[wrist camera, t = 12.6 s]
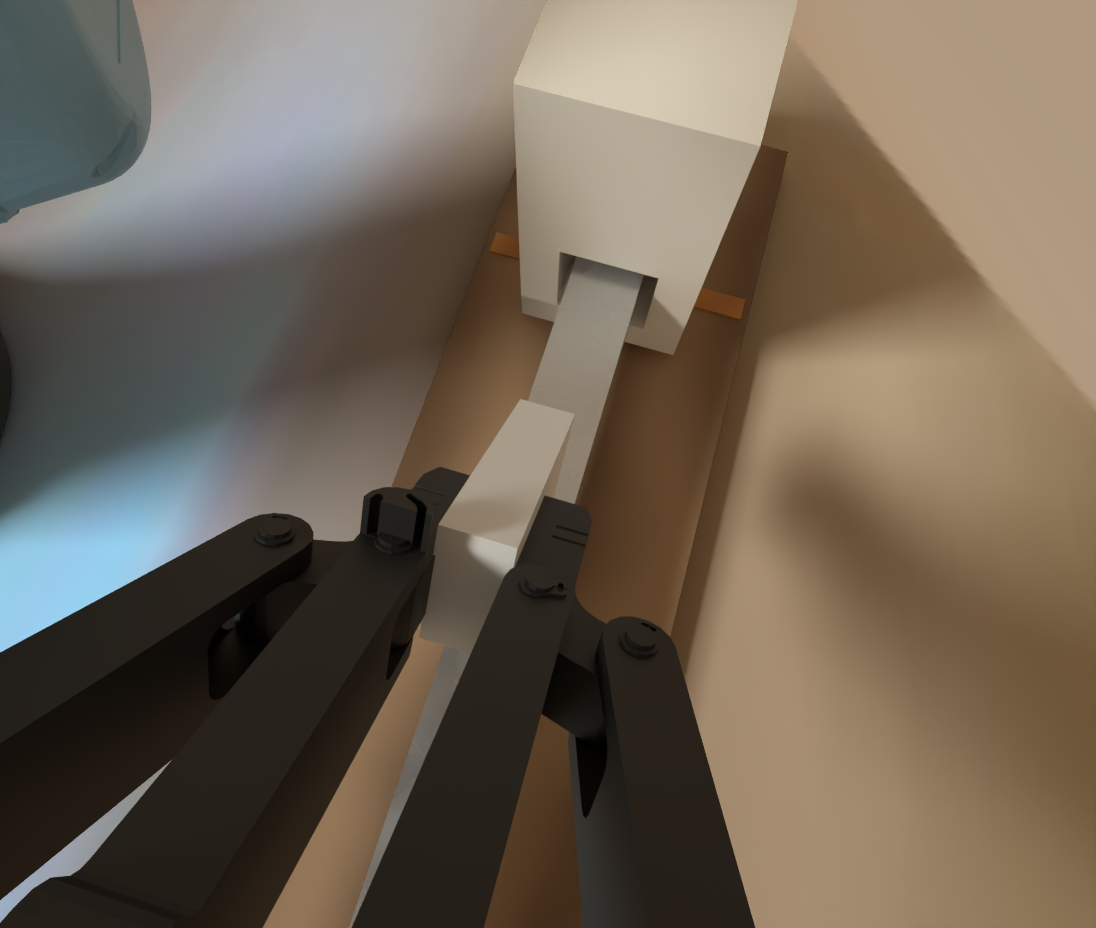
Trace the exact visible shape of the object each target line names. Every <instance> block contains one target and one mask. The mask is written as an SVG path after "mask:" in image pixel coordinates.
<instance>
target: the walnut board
mask: <svg viewBox="0 0 1096 928" xmlns="http://www.w3.org/2000/svg"><path fill="white" fill-rule="evenodd" d="M787 153H788V152H786V151H782V150H778V149H774V148H770V147H766V146H762V145H761V146H760V149H759V151H758V153H757V156H756V158H755V161H754V163H753V165H752V168H751V170H750V172H749V175H748V177H747V180H746V182H745V184H744V187H743V189H742V192H741V194H740V196H739V199H738V201H737V204H736V206H735V208H734V211H733V213H732V216H731V218H730V220H729V223H728V225H727V228H726V230H725V232H724V235H723V237H722V240H721V242H720V244H719V247H718V249H717V252H716V254H715V256H714V259H713V261H712V264H711V266H710V268H709V271H708V273H707V276H706V278H705V280H704V283H703V285H702V288H701V290H700V292H699V295H698V297H697V300H696V302H695V304H694V307H693V309H692V312H691V314H690V316H689V319H688V321H687V324H686V326H685V328H684V331H683V333H682V336H681V338H680V340H679V343H678V345H677V348H676V350H675V352H674V355H670V354H667V353H663V352H659V351H656V350H652V349H649V348H645V347H642V346H638V345H634V344H631V343H627V342H625V343H624V346H623V350H622V353H621V356H620V360H619V363H618V366H617V369H616V373H615V376H614V379H613V383H612V386H611V389H610V393H609V396H608V399H607V403H606V406H605V409H604V413H603V416H602V419H601V423H600V426H599V429H598V433H597V436H596V439H595V443H594V446H593V449H592V453H591V456H590V459H589V463H588V466H587V469H586V473H585V476H584V479H583V482H582V486H581V489H580V492H579V496H578V499H577V502H576V505H580V506H583V507H586V508H587V510H588V512H589V515H590V517H591V520H592V524H591V528H590V532H589V535H588V539H587V543H586V547H585V550H584V554H583V558H582V562H581V566H580V569H579V573H578V577H577V581H576V584H575V593H576V597H577V599H578V601H579V602H580V604H581V605H582V607H583V608H584V609H585V610H586V611H588V612H589V613H590V614H591V615H593V616H594V617H596V618H597V619H599V620H601V621H602V622H604V623H606V624H607V623H608V622H609V621H610V620H612V619H615V618H618V617H620V616H632V617H637V618H641V619H644V620H648V621H649V622H651V623H653V624H655V625H657V626H659V627H660V628H661V629H662V630H663V631H664V632H665V633H666V634H668V635H669V636H671V632H672V628H673V623H674V619H675V615H676V611H677V607H678V603H679V599H680V595H681V590H682V586H683V582H684V578H685V574H686V570H687V566H688V562H689V557H690V553H691V549H692V545H693V541H694V537H695V533H696V529H697V524H698V520H699V516H700V512H701V508H702V504H703V500H704V496H705V491H706V487H707V483H708V479H709V475H710V471H711V467H712V463H713V458H714V454H715V450H716V446H717V442H718V438H719V434H720V430H721V425H722V421H723V417H724V413H725V409H726V405H727V401H728V397H729V392H730V388H731V384H732V380H733V376H734V372H735V368H736V364H737V359H738V355H739V351H740V347H741V343H742V339H743V335H744V331H745V326H746V322H747V318H748V314H749V310H750V306H751V302H752V298H753V293H754V289H755V285H756V281H757V277H758V273H759V269H760V265H761V260H762V256H763V252H764V248H765V244H766V240H767V236H768V232H769V227H770V223H771V219H772V215H773V211H774V207H775V203H776V199H777V194H778V190H779V186H780V182H781V178H782V174H783V170H784V166H785V161H786V157H787ZM553 325H554V322H552V321H548V320H545V319H541V318H538V317H534V316H530V315H527V314H523V313H522V304H521V278H520V253H519V227H518V201H517V175H516V168H515V171H514V173H513V176H512V179H511V181H510V184H509V186H508V189H507V191H506V194H505V197H504V199H503V202H502V204H501V207H500V209H499V212H498V215H497V217H496V220H495V222H494V225H493V227H492V230H491V232H490V235H489V238H488V240H487V243H486V245H485V248H484V250H483V253H482V256H481V258H480V261H479V263H478V266H477V268H476V271H475V274H474V276H473V279H472V281H471V284H470V286H469V289H468V292H467V294H466V297H465V299H464V302H463V304H462V307H461V310H460V312H459V315H458V317H457V320H456V322H455V325H454V328H453V330H452V333H451V335H450V338H449V340H448V343H447V345H446V348H445V351H444V353H443V356H442V358H441V361H440V363H439V366H438V369H437V371H436V374H435V376H434V379H433V381H432V384H431V387H430V389H429V392H428V394H427V397H426V399H425V402H424V405H423V407H422V410H421V412H420V415H419V417H418V420H417V423H416V425H415V428H414V430H413V433H412V435H411V438H410V441H409V443H408V446H407V448H406V451H405V453H404V456H403V458H402V461H401V464H400V466H399V469H398V471H397V474H396V476H395V479H394V482H393V484H392V487H399V488H405V489H410V490H411V489H412V488H413V487H414V486H415V484H416V483H417V481H418V480H419V479H420V478H421V476H422V475H423V474H424V473H427V472H429V471H431V470H433V469H435V468H438V467H443V468H446V469H450V470H453V471H457V472H460V473H464V474H467V475H471V474H472V472H473V471H474V469H475V468H476V466H477V465H478V463H479V462H480V460H481V458H482V457H483V455H484V454H485V452H486V451H487V449H488V448H489V446H490V445H491V443H492V442H493V440H494V439H495V437H496V436H497V434H498V433H499V431H500V429H501V428H502V426H503V425H504V423H505V422H506V420H507V419H508V417H509V416H510V414H511V413H512V411H513V410H514V408H515V407H516V405H517V403H518V402H519V400H520V399H522V400H526V401H528V398H529V395H530V392H531V389H532V387H533V384H534V381H535V378H536V375H537V372H538V369H539V366H540V363H541V360H542V357H543V354H544V351H545V348H546V345H547V342H548V339H549V336H550V334H551V331H552V328H553ZM421 624H422V621H421V623H420V624H419V626H418V628H417V630H416V632H415V633H414V636H413V642H412V648H411V652H410V656H409V658H408V660H407V662H406V663H405V665H404V667H403V669H402V671H401V673H400V675H399V676H398V678H397V680H396V682H395V684H394V686H393V688H392V689H391V691H390V693H389V695H388V697H387V699H386V700H385V702H384V704H383V706H382V708H381V710H380V712H379V713H378V715H377V717H376V719H375V721H374V723H373V725H372V726H371V728H370V730H369V732H368V734H367V736H366V737H365V739H364V741H363V743H362V745H361V747H360V749H359V750H358V752H357V754H356V756H355V758H354V760H353V762H352V763H351V765H350V767H349V769H348V771H347V773H346V774H345V776H344V778H343V780H342V782H341V784H340V786H339V787H338V789H337V791H336V793H335V795H334V797H333V799H332V800H331V802H330V804H329V806H328V808H327V810H326V811H325V813H324V815H323V817H322V819H321V821H320V823H319V824H318V826H317V828H316V830H315V832H314V834H313V836H312V837H311V839H310V841H309V843H308V845H307V847H306V848H305V850H304V852H303V854H302V856H301V858H300V860H299V861H298V863H297V865H296V867H295V869H294V871H293V873H292V874H291V876H290V878H289V880H288V882H287V884H286V885H285V887H284V889H283V891H282V893H281V895H280V897H279V898H278V900H277V902H276V904H275V906H274V908H273V909H272V911H271V913H270V915H269V917H268V919H267V921H266V922H265V924H264V926H263V928H349V926H350V923H351V920H352V917H353V914H354V911H355V908H356V905H357V902H358V899H359V896H360V893H361V890H362V887H363V884H364V881H365V878H366V876H367V873H368V870H369V867H370V864H371V861H372V858H373V855H374V852H375V849H376V846H377V843H378V840H379V837H380V834H381V831H382V828H383V825H384V823H385V820H386V817H387V814H388V811H389V808H390V805H391V802H392V799H393V796H394V793H395V790H396V787H397V784H398V781H399V778H400V775H401V772H402V769H403V767H404V764H405V761H406V758H407V755H408V752H409V749H410V746H411V743H412V740H413V737H414V734H415V731H416V728H417V725H418V722H419V719H420V716H421V714H422V711H423V708H424V705H425V702H426V699H427V696H428V693H429V690H430V687H431V684H432V681H433V678H434V675H435V672H436V669H437V666H438V663H439V660H440V658H441V655H442V652H443V649H444V646H445V645H441V644H438V643H435V642H432V641H428V640H425V639H422V638H419V636H420V630H421ZM568 737H569V732H568V731H567V730H565V729H564V728H562V727H561V726H559V725H558V724H556V723H555V722H553V721H551V720H550V719H548V718H547V717H545V716H544V715H542V714H541V717H540V721H539V724H538V728H537V732H536V736H535V739H534V743H533V747H532V750H531V754H530V758H529V762H528V765H527V769H526V773H525V777H524V780H523V784H522V788H521V791H520V795H519V799H518V803H517V806H516V810H515V814H514V817H513V821H512V825H511V829H510V832H509V836H508V840H507V843H506V847H505V851H504V855H503V858H502V862H501V866H500V869H499V873H498V877H497V881H496V884H495V888H494V892H493V895H492V899H491V903H490V907H489V910H488V914H487V918H486V921H485V925H484V928H583V924H582V911H581V899H580V886H579V873H578V861H577V848H576V836H575V823H574V811H573V798H572V785H571V773H570V760H569V748H568Z"/></svg>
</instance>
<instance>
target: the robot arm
mask: <svg viewBox="0 0 1096 928" xmlns="http://www.w3.org/2000/svg"><path fill="white" fill-rule="evenodd" d="M150 123H151V91H150V82H149V74H148V68H147V62H146V57H145V52H144V47H143V42H142V37H141V33H140V29H139V25H138V21H137V16H136V12H135V9H134V5H133V1H132V0H0V224H2V223H6V222H8V220H9V219H11V218H12V217H13V216H15V215H16V214H18V212H19V210H20V209H22V208H26V207H29V206H32V205H36V204H39V203H42V202H46V201H49V200H52V199H56V198H59V197H62V196H66V195H69V194H72V193H76V192H79V191H82V190H86V189H89V188H92V187H96V186H99V185H102V184H105V183H107V182H110V181H112V180H114V179H116V178H118V177H120V176H121V175H122V174H124V173H125V172H126V171H127V170H128V169H130V168H131V166H132V165H133V164H134V163H135V162H136V160H137V159H138V157H139V156H140V154H141V153H142V151H143V149H144V146H145V144H146V141H147V138H148V134H149V130H150ZM10 391H11V373H10V364H9V358H8V354H7V349H6V346H5V343H4V340H3V338H2V335H1V333H0V437H1V434H2V432H3V428H4V425H5V421H6V418H7V413H8V408H9V401H10ZM574 416H575V414H572V413H569V412H565V411H562V410H558V409H554V408H551V407H547V406H544V405H540V404H537V403H533V402H529V401H526V400H522V399H520V400H519V402H518V403H517V405H516V407H515V408H514V410H513V411H512V413H511V414H510V416H509V417H508V419H507V420H506V422H505V423H504V425H503V426H502V428H501V429H500V431H499V433H498V434H497V436H496V437H495V439H494V440H493V442H492V443H491V445H490V446H489V448H488V449H487V451H486V452H485V454H484V455H483V457H482V458H481V460H480V462H479V463H478V465H477V466H476V468H475V469H474V471H473V472H472V474H471V475H467V474H464V473H460V472H457V471H453V470H450V469H446V468H443V467H438V468H435V469H433V470H431V471H429V472H427V473H424V474H423V475H422V476H421V478H420V479H419V480H418V481H417V483H416V484H415V486H414V487H413V488H412V489H411V490H410V489H405V488H399V487H386V488H380V489H377V490H373V491H371V492H370V493H368V494H367V495H365V496H364V500H363V510H362V519H361V529H360V534H359V535H358V536H357V537H356V539H355V540H354V541H348V542H335V541H323V540H313V531H312V529H311V526H310V525H309V524H308V523H306V522H305V521H304V520H302V519H301V518H298V517H295V516H292V515H289V514H278V513H271V514H263V515H258V516H255V517H253V518H250V519H247V520H245V521H244V522H242V523H240V524H238V525H236V526H234V527H232V528H231V529H229V530H227V531H225V532H223V533H221V534H219V535H218V536H216V537H214V538H212V539H210V540H208V541H206V542H205V543H203V544H201V545H199V546H197V547H195V548H193V549H192V550H190V551H188V552H186V553H184V554H182V555H180V556H179V557H177V558H175V559H173V560H171V561H169V562H167V563H166V564H164V565H162V566H160V567H158V568H156V569H154V570H153V571H151V572H149V573H147V574H145V575H143V576H141V577H140V578H138V579H136V580H134V581H132V582H130V583H128V584H127V585H125V586H123V587H121V588H119V589H117V590H115V591H114V592H112V593H110V594H108V595H106V596H104V597H102V598H101V599H99V600H97V601H95V602H93V603H91V604H89V605H88V606H86V607H84V608H82V609H80V610H78V611H77V612H75V613H73V614H71V615H69V616H67V617H65V618H64V619H62V620H60V621H58V622H56V623H54V624H52V625H51V626H49V627H47V628H45V629H43V630H41V631H39V632H38V633H36V634H34V635H32V636H30V637H28V638H26V639H25V640H23V641H21V642H19V643H17V644H15V645H13V646H12V647H10V648H8V649H6V650H4V651H2V652H0V900H1V899H2V898H3V897H5V896H6V895H7V894H8V893H10V892H11V891H12V890H13V889H14V888H16V887H17V886H18V885H19V884H21V883H22V882H23V881H24V880H25V879H27V878H28V877H29V876H30V875H32V874H33V873H34V872H35V871H36V870H38V869H39V868H40V867H41V866H43V865H44V864H45V863H46V862H47V861H49V860H50V859H51V858H52V857H54V856H55V855H56V854H57V853H58V852H60V851H61V850H62V849H63V848H64V847H66V846H67V845H68V844H69V843H71V842H72V841H73V840H74V839H75V838H77V837H78V836H79V835H80V834H82V833H83V832H84V831H85V830H86V829H88V828H89V827H90V826H91V825H93V824H94V823H95V822H96V821H97V820H99V819H100V818H101V817H102V816H104V815H105V814H106V813H107V812H108V811H110V810H111V809H112V808H113V807H115V806H116V805H117V804H118V803H119V802H121V801H122V800H123V799H124V798H126V797H127V796H128V795H129V794H130V793H132V792H133V791H134V790H135V789H137V788H138V787H139V786H140V785H141V784H143V783H144V782H145V781H146V780H148V779H149V778H150V777H151V776H152V775H154V774H155V773H156V772H157V771H158V770H160V769H161V768H162V767H163V766H165V765H166V764H167V763H168V762H169V761H171V760H172V761H171V762H170V763H169V764H168V765H167V767H166V768H165V769H164V770H163V772H162V773H161V774H160V775H159V776H158V778H157V779H156V780H155V781H154V782H153V784H152V785H151V786H150V787H149V788H148V790H147V791H146V792H145V793H144V794H143V796H142V797H141V798H140V799H139V800H138V802H137V803H136V804H135V805H134V807H133V808H132V809H131V810H130V811H129V813H128V814H127V815H126V816H125V817H124V819H123V820H122V821H121V822H120V823H119V825H118V826H117V827H116V828H115V829H114V831H113V832H112V833H111V834H110V835H109V837H108V838H107V839H106V840H105V842H104V843H103V844H102V845H101V846H100V848H99V849H98V850H97V851H96V852H95V854H94V855H93V856H92V857H91V858H90V860H89V861H88V862H87V863H86V864H85V865H84V866H83V867H82V868H81V869H80V870H78V871H77V872H75V873H74V874H72V875H71V876H64V877H54V878H49V879H48V880H46V881H45V882H43V883H41V884H40V885H38V886H37V887H35V888H34V889H32V890H31V891H30V892H29V893H28V894H27V895H26V896H25V897H24V898H23V899H22V900H21V901H20V902H19V903H18V904H17V905H16V906H15V907H14V908H13V909H12V910H11V911H10V912H9V914H8V915H7V916H6V917H5V918H4V919H3V920H2V922H1V923H0V928H263V926H264V924H265V922H266V921H267V919H268V917H269V915H270V913H271V911H272V909H273V908H274V906H275V904H276V902H277V900H278V898H279V897H280V895H281V893H282V891H283V889H284V887H285V885H286V884H287V882H288V880H289V878H290V876H291V874H292V873H293V871H294V869H295V867H296V865H297V863H298V861H299V860H300V858H301V856H302V854H303V852H304V850H305V848H306V847H307V845H308V843H309V841H310V839H311V837H312V836H313V834H314V832H315V830H316V828H317V826H318V824H319V823H320V821H321V819H322V817H323V815H324V813H325V811H326V810H327V808H328V806H329V804H330V802H331V800H332V799H333V797H334V795H335V793H336V791H337V789H338V787H339V786H340V784H341V782H342V780H343V778H344V776H345V774H346V773H347V771H348V769H349V767H350V765H351V763H352V762H353V760H354V758H355V756H356V754H357V752H358V750H359V749H360V747H361V745H362V743H363V741H364V739H365V737H366V736H367V734H368V732H369V730H370V728H371V726H372V725H373V723H374V721H375V719H376V717H377V715H378V713H379V712H380V710H381V708H382V706H383V704H384V702H385V700H386V699H387V697H388V695H389V693H390V691H391V689H392V688H393V686H394V684H395V682H396V680H397V678H398V676H399V675H400V673H401V671H402V669H403V667H404V665H405V663H406V662H407V660H408V658H409V656H410V652H411V648H412V642H413V636H414V633H415V632H416V630H417V628H418V626H419V624H420V623H421V621H422V624H421V630H420V636H419V638H422V639H425V640H428V641H432V642H435V643H438V644H441V645H445V646H448V647H451V648H454V649H457V650H461V651H464V652H467V653H470V657H469V659H468V661H467V663H466V666H465V668H464V670H463V673H462V675H461V677H460V680H459V682H458V684H457V686H456V689H455V691H454V693H453V696H452V698H451V700H450V702H449V705H448V707H447V709H446V712H445V714H444V716H443V719H442V721H441V723H440V725H439V728H438V730H437V732H436V735H435V737H434V739H433V742H432V744H431V746H430V748H429V751H428V753H427V755H426V758H425V760H424V762H423V765H422V767H421V769H420V771H419V774H418V776H417V778H416V781H415V783H414V785H413V788H412V790H411V792H410V794H409V797H408V799H407V801H406V804H405V806H404V808H403V810H402V813H401V815H400V817H399V820H398V822H397V824H396V827H395V829H394V831H393V833H392V836H391V838H390V840H389V843H388V845H387V847H386V850H385V852H384V854H383V856H382V859H381V861H380V863H379V866H378V868H377V870H376V873H375V875H374V877H373V879H372V882H371V884H370V886H369V889H368V891H367V893H366V896H365V898H364V900H363V902H362V905H361V907H360V909H359V912H358V914H357V916H356V918H355V921H354V923H353V925H352V928H484V925H485V921H486V918H487V914H488V910H489V907H490V903H491V899H492V895H493V892H494V888H495V884H496V881H497V877H498V873H499V869H500V866H501V862H502V858H503V855H504V851H505V847H506V843H507V840H508V836H509V832H510V829H511V825H512V821H513V817H514V814H515V810H516V806H517V803H518V799H519V795H520V791H521V788H522V784H523V780H524V777H525V773H526V769H527V765H528V762H529V758H530V754H531V750H532V747H533V743H534V739H535V736H536V732H537V728H538V724H539V721H540V717H541V714H542V715H544V716H545V717H547V718H548V719H550V720H551V721H553V722H555V723H556V724H558V725H559V726H561V727H562V728H564V729H565V730H567V731H568V732H569V737H568V748H569V760H570V773H571V785H572V798H573V811H574V823H575V836H576V848H577V861H578V873H579V886H580V899H581V911H582V924H583V928H755V926H754V922H753V919H752V915H751V912H750V908H749V905H748V901H747V897H746V894H745V890H744V887H743V883H742V880H741V876H740V873H739V869H738V866H737V862H736V859H735V855H734V852H733V848H732V845H731V841H730V838H729V834H728V831H727V827H726V824H725V820H724V817H723V813H722V810H721V806H720V802H719V799H718V795H717V792H716V788H715V785H714V781H713V778H712V774H711V771H710V767H709V764H708V760H707V757H706V753H705V750H704V746H703V743H702V739H701V736H700V732H699V729H698V725H697V722H696V718H695V715H694V711H693V707H692V704H691V700H690V697H689V693H688V690H687V686H686V683H685V679H684V676H683V672H682V669H681V665H680V662H679V658H678V655H677V651H676V648H675V646H674V644H673V642H672V640H671V638H670V636H669V635H668V634H666V633H665V632H664V631H663V630H662V629H661V628H660V627H659V626H657V625H655V624H653V623H651V622H649V621H648V620H644V619H641V618H637V617H632V616H620V617H618V618H615V619H612V620H610V621H609V622H608V623H607V624H606V623H604V622H602V621H601V620H599V619H597V618H596V617H594V616H593V615H591V614H590V613H589V612H588V611H586V610H585V609H584V608H583V607H582V605H581V604H580V602H579V601H578V599H577V597H576V593H575V584H576V581H577V577H578V573H579V569H580V566H581V562H582V558H583V554H584V550H585V547H586V543H587V539H588V535H589V532H590V528H591V524H592V520H591V517H590V515H589V512H588V510H587V508H586V507H583V506H580V505H576V504H573V503H569V502H566V501H562V500H559V499H555V498H554V494H555V490H556V486H557V482H558V478H559V475H560V471H561V467H562V463H563V459H564V455H565V451H566V447H567V443H568V440H569V436H570V432H571V428H572V424H573V420H574ZM234 616H235V617H234ZM231 618H232V619H231ZM228 620H229V621H228Z"/></svg>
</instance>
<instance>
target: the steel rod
mask: <svg viewBox="0 0 1096 928" xmlns="http://www.w3.org/2000/svg"><path fill="white" fill-rule="evenodd" d="M644 276H646V277H650V276H648V275H644V274H640V273H637V272H633V271H629V270H626V269H622V268H618V267H614V266H611V265H607V264H603V263H600V262H596V261H592V260H589V259H585V258H581V257H578V256H577V257H576V260H575V263H574V266H573V269H572V272H571V275H570V278H569V280H568V283H567V286H566V289H565V292H564V295H563V298H562V301H561V304H560V307H559V310H558V313H557V316H556V319H555V322H554V325H553V328H552V331H551V334H550V336H549V339H548V342H547V345H546V348H545V351H544V354H543V357H542V360H541V363H540V366H539V369H538V372H537V375H536V378H535V381H534V384H533V387H532V389H531V392H530V395H529V398H528V401H529V402H533V403H537V404H540V405H544V406H547V407H551V408H554V409H558V410H562V411H565V412H569V413H572V414H575V416H574V420H573V424H572V428H571V432H570V436H569V440H568V443H567V447H566V451H565V455H564V459H563V463H562V467H561V471H560V475H559V478H558V482H557V486H556V490H555V494H554V498H555V499H559V500H562V501H566V502H569V503H573V504H576V502H577V499H578V496H579V492H580V489H581V486H582V482H583V479H584V476H585V473H586V469H587V466H588V463H589V459H590V456H591V453H592V449H593V446H594V443H595V439H596V436H597V433H598V429H599V426H600V423H601V419H602V416H603V413H604V409H605V406H606V403H607V399H608V396H609V393H610V389H611V386H612V383H613V379H614V376H615V373H616V369H617V366H618V363H619V360H620V356H621V353H622V350H623V346H624V343H625V340H626V336H627V333H628V330H629V326H630V323H631V320H632V316H633V313H634V310H635V306H636V303H637V300H638V296H639V293H640V290H641V286H642V283H643V280H644ZM469 657H470V653H467V652H464V651H461V650H457V649H454V648H451V647H448V646H444V649H443V652H442V655H441V658H440V660H439V663H438V666H437V669H436V672H435V675H434V678H433V681H432V684H431V687H430V690H429V693H428V696H427V699H426V702H425V705H424V708H423V711H422V714H421V716H420V719H419V722H418V725H417V728H416V731H415V734H414V737H413V740H412V743H411V746H410V749H409V752H408V755H407V758H406V761H405V764H404V767H403V769H402V772H401V775H400V778H399V781H398V784H397V787H396V790H395V793H394V796H393V799H392V802H391V805H390V808H389V811H388V814H387V817H386V820H385V823H384V825H383V828H382V831H381V834H380V837H379V840H378V843H377V846H376V849H375V852H374V855H373V858H372V861H371V864H370V867H369V870H368V873H367V876H366V878H365V881H364V884H363V887H362V890H361V893H360V896H359V899H358V902H357V905H356V908H355V911H354V914H353V917H352V920H351V923H350V926H349V928H352V925H353V923H354V921H355V918H356V916H357V914H358V912H359V909H360V907H361V905H362V902H363V900H364V898H365V896H366V893H367V891H368V889H369V886H370V884H371V882H372V879H373V877H374V875H375V873H376V870H377V868H378V866H379V863H380V861H381V859H382V856H383V854H384V852H385V850H386V847H387V845H388V843H389V840H390V838H391V836H392V833H393V831H394V829H395V827H396V824H397V822H398V820H399V817H400V815H401V813H402V810H403V808H404V806H405V804H406V801H407V799H408V797H409V794H410V792H411V790H412V788H413V785H414V783H415V781H416V778H417V776H418V774H419V771H420V769H421V767H422V765H423V762H424V760H425V758H426V755H427V753H428V751H429V748H430V746H431V744H432V742H433V739H434V737H435V735H436V732H437V730H438V728H439V725H440V723H441V721H442V719H443V716H444V714H445V712H446V709H447V707H448V705H449V702H450V700H451V698H452V696H453V693H454V691H455V689H456V686H457V684H458V682H459V680H460V677H461V675H462V673H463V670H464V668H465V666H466V663H467V661H468V659H469Z"/></svg>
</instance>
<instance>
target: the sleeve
mask: <svg viewBox="0 0 1096 928" xmlns="http://www.w3.org/2000/svg"><path fill="white" fill-rule="evenodd" d="M797 3H798V0H547V2H546V4H545V6H544V9H543V11H542V14H541V16H540V19H539V21H538V24H537V26H536V28H535V31H534V33H533V36H532V38H531V41H530V43H529V45H528V48H527V50H526V53H525V55H524V58H523V60H522V63H521V65H520V67H519V70H518V72H517V75H516V77H515V80H514V82H513V98H514V123H515V149H516V175H517V201H518V227H519V253H520V278H521V304H522V313H523V314H527V315H530V316H534V317H538V318H541V319H545V320H548V321H552V322H555V319H556V316H557V313H558V310H559V307H560V304H561V301H562V298H563V295H564V292H565V289H566V286H567V283H568V280H569V278H570V275H571V272H572V269H573V266H574V263H575V260H576V257H577V256H578V257H581V258H585V259H589V260H592V261H596V262H600V263H603V264H607V265H611V266H614V267H618V268H622V269H626V270H629V271H633V272H637V273H640V274H644V275H648V276H650V277H646V276H644V280H643V283H642V286H641V290H640V293H639V296H638V300H637V303H636V306H635V310H634V313H633V316H632V320H631V323H630V326H629V330H628V333H627V336H626V340H625V342H627V343H631V344H634V345H638V346H642V347H645V348H649V349H652V350H656V351H659V352H663V353H667V354H670V355H674V352H675V350H676V348H677V345H678V343H679V340H680V338H681V336H682V333H683V331H684V328H685V326H686V324H687V321H688V319H689V316H690V314H691V312H692V309H693V307H694V304H695V302H696V300H697V297H698V295H699V292H700V290H701V288H702V285H703V283H704V280H705V278H706V276H707V273H708V271H709V268H710V266H711V264H712V261H713V259H714V256H715V254H716V252H717V249H718V247H719V244H720V242H721V240H722V237H723V235H724V232H725V230H726V228H727V225H728V223H729V220H730V218H731V216H732V213H733V211H734V208H735V206H736V204H737V201H738V199H739V196H740V194H741V192H742V189H743V187H744V184H745V182H746V180H747V177H748V175H749V172H750V170H751V168H752V165H753V163H754V161H755V158H756V156H757V153H758V151H759V149H760V146H761V142H762V138H763V135H764V131H765V127H766V123H767V119H768V115H769V111H770V107H771V104H772V100H773V96H774V92H775V88H776V84H777V80H778V76H779V73H780V69H781V65H782V61H783V57H784V53H785V49H786V45H787V42H788V38H789V34H790V30H791V26H792V22H793V18H794V14H795V10H796V6H797Z"/></svg>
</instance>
